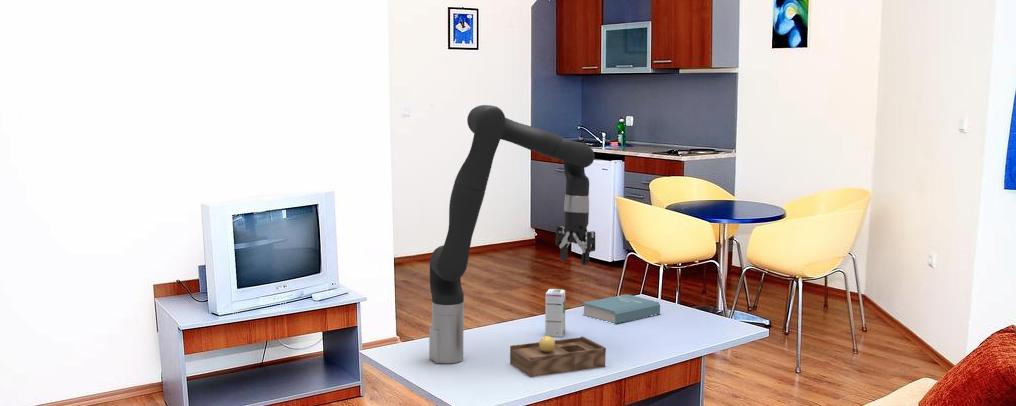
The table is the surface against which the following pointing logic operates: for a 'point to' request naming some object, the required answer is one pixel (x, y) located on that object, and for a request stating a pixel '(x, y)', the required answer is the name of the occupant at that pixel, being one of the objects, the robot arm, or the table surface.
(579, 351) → the wooden tray with hole
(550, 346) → the ball
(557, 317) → the syrup box
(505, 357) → the table surface
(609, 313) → the book
